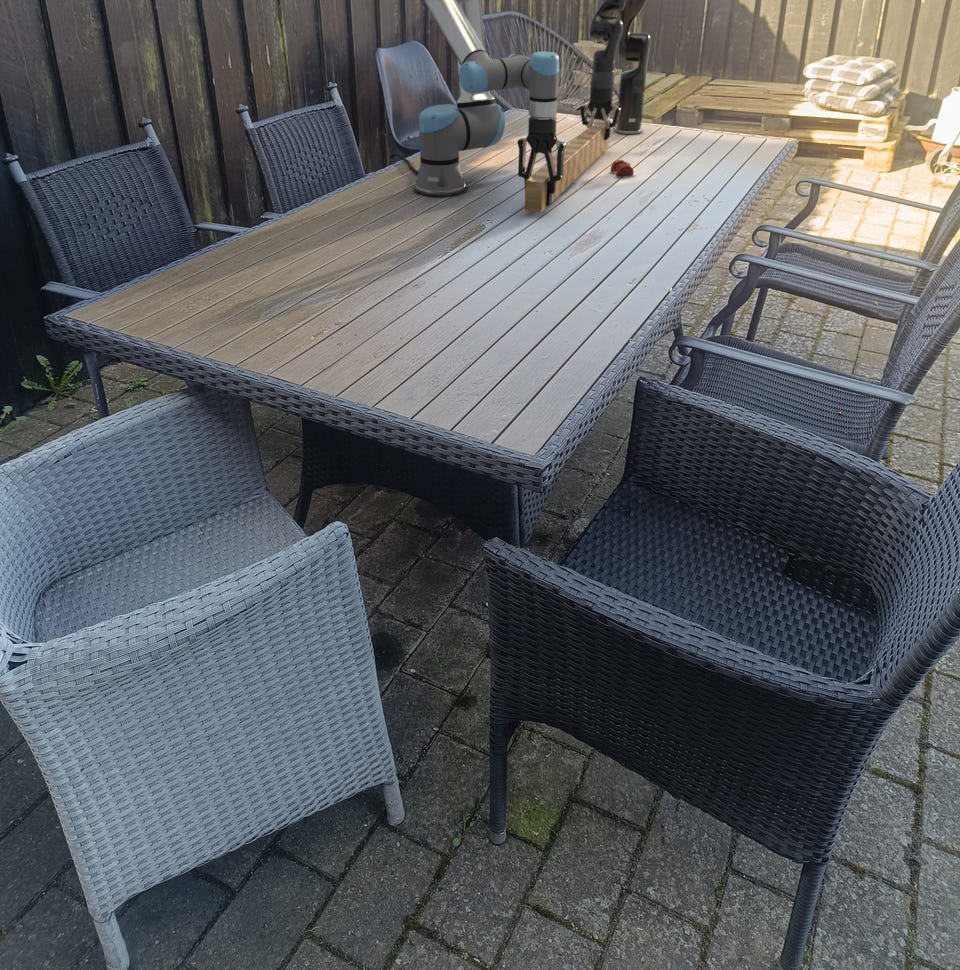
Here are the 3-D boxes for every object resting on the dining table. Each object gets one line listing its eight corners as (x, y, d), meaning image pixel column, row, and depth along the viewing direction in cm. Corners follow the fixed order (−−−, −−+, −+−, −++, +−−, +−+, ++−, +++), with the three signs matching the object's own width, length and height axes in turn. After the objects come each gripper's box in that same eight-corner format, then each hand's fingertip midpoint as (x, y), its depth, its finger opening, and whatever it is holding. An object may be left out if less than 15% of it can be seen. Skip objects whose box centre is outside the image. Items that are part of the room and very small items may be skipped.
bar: (541, 212, 235) (542, 182, 231) (524, 210, 237) (525, 180, 232) (608, 146, 295) (610, 121, 290) (594, 145, 296) (596, 120, 291)
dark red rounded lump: (625, 156, 273) (635, 163, 267) (625, 169, 276) (634, 176, 269) (609, 158, 272) (618, 165, 266) (608, 171, 275) (618, 178, 268)
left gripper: (578, 116, 227) (573, 203, 241) (515, 111, 232) (513, 196, 246) (571, 122, 221) (566, 210, 235) (506, 117, 227) (505, 204, 240)
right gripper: (626, 84, 280) (621, 138, 290) (584, 81, 284) (580, 134, 294) (620, 88, 274) (616, 143, 284) (578, 85, 278) (575, 139, 288)
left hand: (539, 203), depth 240 cm, fingers closed on bar, 5 cm apart
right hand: (598, 138), depth 289 cm, fingers closed on bar, 5 cm apart
